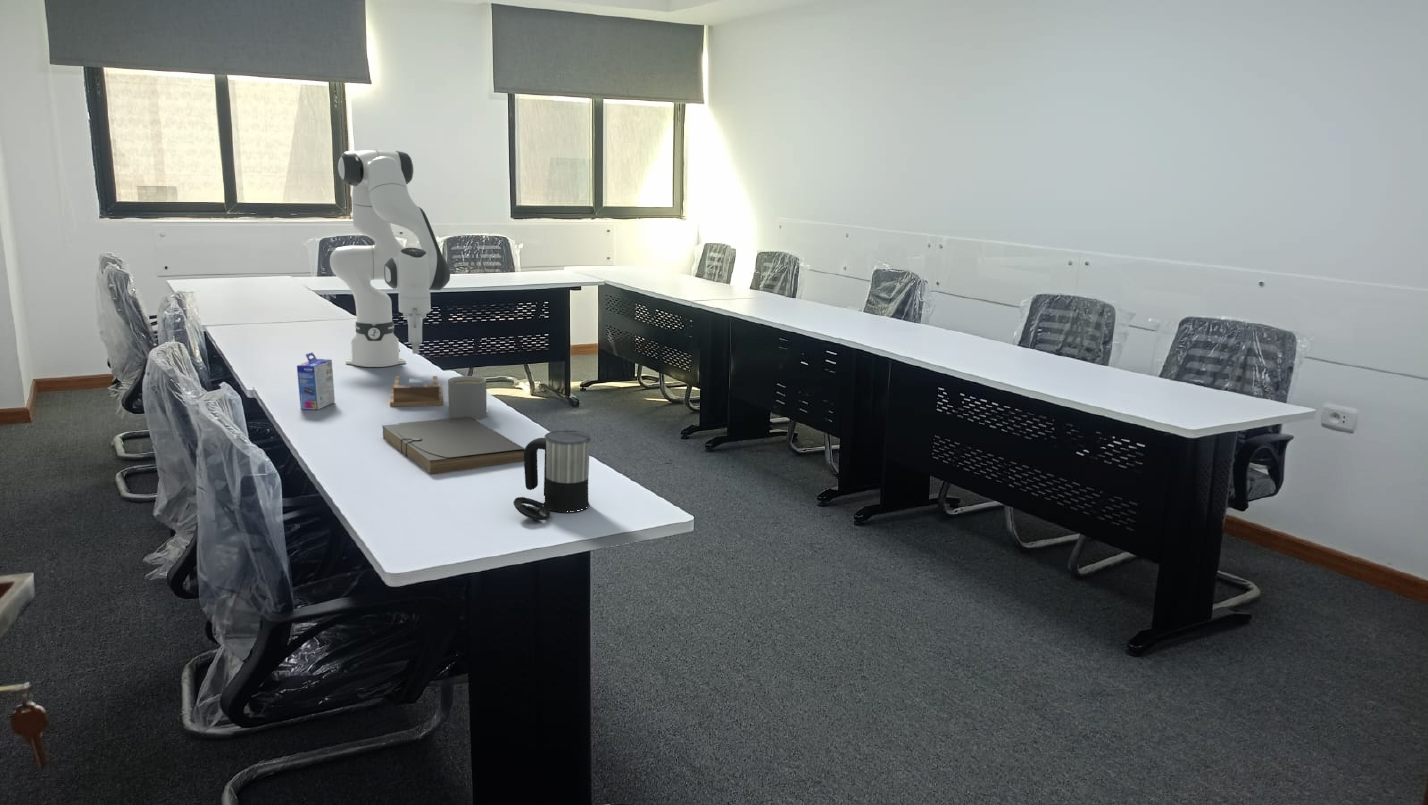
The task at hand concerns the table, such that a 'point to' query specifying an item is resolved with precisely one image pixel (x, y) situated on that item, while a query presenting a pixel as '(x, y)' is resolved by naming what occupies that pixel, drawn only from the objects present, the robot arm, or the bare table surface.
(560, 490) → the milk frother
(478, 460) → the file folder
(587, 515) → the table surface
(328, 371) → the ink cartridge box
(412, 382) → the grey flanged pedestal
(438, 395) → the wooden tray
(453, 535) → the table surface
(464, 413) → the coffee mug
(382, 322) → the robot arm
